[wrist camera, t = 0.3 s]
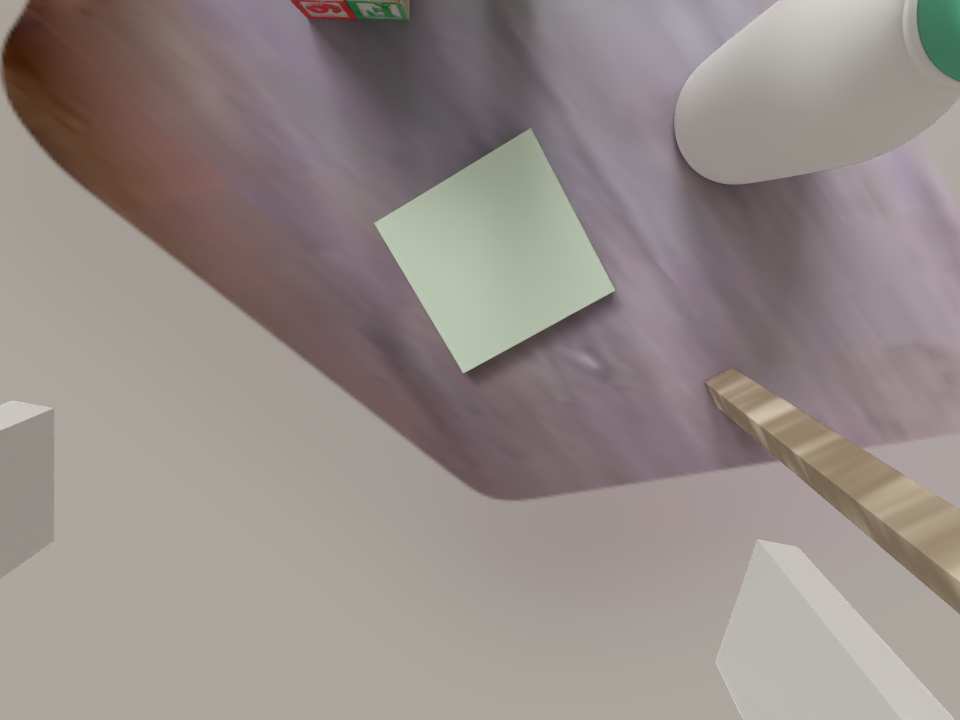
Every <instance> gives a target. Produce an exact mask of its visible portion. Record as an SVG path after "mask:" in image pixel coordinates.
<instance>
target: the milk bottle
mask: <svg viewBox="0 0 960 720" xmlns="http://www.w3.org/2000/svg"><path fill="white" fill-rule="evenodd" d="M959 97H960V0H779V1H777V2H776V3H775V4H773V5H772V6H771V7H770V8H768V9H767V10H766V11H765V12H763V13H762V14H761V15H759V16H758V17H757V18H756V19H754V20H753V21H752V22H750V23H749V24H748V25H747V26H745V27H744V28H743V29H742V30H741V31H739V32H738V33H737V34H736V35H734V36H733V37H732V38H731V39H729V40H728V41H727V42H726V43H724V44H723V45H722V46H721V47H720V48H718V49H717V50H716V51H715V52H713V53H712V54H711V55H710V56H709V57H708V58H706V59H705V60H704V61H703V62H702V63H701V64H700V65H699V66H698V67H697V68H696V69H695V70H694V71H693V73H692V74H691V75H690V76H689V78H688V79H687V81H686V82H685V84H684V86H683V88H682V90H681V92H680V95H679V97H678V100H677V104H676V108H675V116H674V129H675V136H676V140H677V144H678V146H679V149H680V151H681V153H682V155H683V157H684V158H685V160H686V161H687V163H688V164H689V165H690V166H691V167H692V168H693V169H694V170H695V171H696V172H697V173H699V174H700V175H702V176H703V177H705V178H707V179H709V180H712V181H714V182H718V183H722V184H730V185H736V184H748V183H755V182H761V181H768V180H774V179H780V178H786V177H792V176H797V175H803V174H808V173H814V172H819V171H825V170H830V169H834V168H839V167H843V166H847V165H851V164H855V163H859V162H863V161H866V160H869V159H872V158H874V157H877V156H879V155H882V154H884V153H887V152H889V151H891V150H893V149H895V148H897V147H899V146H901V145H902V144H904V143H906V142H908V141H910V140H911V139H913V138H914V137H916V136H917V135H919V134H920V133H921V132H923V131H924V130H925V129H927V128H928V127H929V126H931V125H932V124H933V123H935V122H936V121H937V120H938V119H939V118H940V117H941V116H942V115H943V114H944V113H945V112H946V111H947V110H948V109H949V108H950V107H951V106H952V105H953V104H954V103H955V102H956V101H957V99H958V98H959Z"/></svg>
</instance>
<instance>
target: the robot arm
mask: <svg viewBox="0 0 960 720" xmlns="http://www.w3.org/2000/svg"><path fill="white" fill-rule="evenodd" d="M53 541H54V408H50V407H45V406H39V405H34V404H29V403H23V402H17V401H10V402H7V403H4V404H2V405H0V578H2V577H3V576H5V575H6V574H7V573H9V572H10V571H12V570H13V569H14V568H16V567H17V566H19V565H20V564H21V563H23V562H24V561H26V560H27V559H28V558H30V557H31V556H33V555H34V554H36V553H37V552H38V551H40V550H41V549H43V548H44V547H46V546H47V545H48V544H50V543H51V542H53ZM715 663H716V665H717V667H718V669H719V671H720V673H721V676H722V678H723V680H724V682H725V684H726V686H727V688H728V690H729V692H730V694H731V696H732V698H733V700H734V703H735V705H736V707H737V709H738V711H739V713H740V715H741V717H742V719H743V720H955V719H954V718H953V717H952V716H951V715H950V714H949V713H948V711H947V710H946V709H945V708H944V707H943V706H942V705H941V704H940V703H939V702H938V701H937V699H936V698H935V697H934V696H933V695H932V694H931V693H930V692H929V691H928V689H927V688H926V687H925V686H924V685H923V684H922V683H921V682H920V681H919V680H918V678H917V677H916V676H915V675H914V674H913V673H912V672H911V671H910V670H909V669H908V667H907V666H906V665H905V664H904V663H903V662H902V661H901V660H900V659H899V658H898V656H897V655H896V654H895V653H894V652H893V651H892V650H891V649H890V648H889V647H888V646H887V645H886V643H885V642H884V641H883V640H882V639H881V638H880V637H879V636H878V634H877V633H876V632H875V631H874V630H873V629H872V628H871V627H870V626H869V625H868V624H867V622H866V621H865V620H864V619H863V618H862V617H861V616H860V615H859V614H858V612H857V611H856V610H855V609H854V608H853V607H852V606H851V605H850V604H849V603H848V602H847V600H846V599H845V598H844V597H843V596H842V595H841V594H840V593H839V592H838V591H837V589H836V588H835V587H834V586H833V585H832V584H831V583H830V582H829V581H828V580H827V579H826V577H825V576H824V575H823V574H822V573H821V572H820V571H819V570H818V568H817V567H816V566H815V565H814V564H813V563H812V562H811V561H810V560H809V559H808V557H807V556H806V555H804V553H803V552H802V551H801V550H800V549H799V548H798V547H796V546H791V545H785V544H780V543H774V542H769V541H764V540H758V539H757V541H756V544H755V547H754V550H753V553H752V556H751V559H750V562H749V565H748V568H747V571H746V574H745V577H744V580H743V583H742V586H741V588H740V591H739V594H738V598H737V600H736V603H735V606H734V609H733V612H732V615H731V618H730V621H729V624H728V627H727V630H726V633H725V636H724V638H723V641H722V645H721V647H720V650H719V653H718V656H717V659H716V662H715Z"/></svg>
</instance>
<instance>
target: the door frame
mask: <svg viewBox="0 0 960 720" xmlns="http://www.w3.org/2000/svg"><path fill="white" fill-rule="evenodd" d="M705 384H706V386H707V388H708V390H709V392H710V394H711V396H712V398H713V400H714V402H715V404H716V406H717V407H718V408H719V409H720V410H721V411H722V412H723V413H725V414H726V415H727V416H728V417H729V418H730V419H732V420H733V421H734V422H735V423H736V424H737V425H739V426H740V427H741V428H742V429H743V430H745V431H746V432H747V433H748V434H749V435H750V436H752V437H753V438H754V439H755V440H756V441H757V442H759V443H760V444H761V445H762V446H763V447H764V448H766V449H767V450H768V451H769V452H770V453H771V454H773V455H774V456H775V457H776V458H777V459H779V460H780V461H781V462H782V463H783V464H784V465H786V466H787V467H788V468H789V469H790V470H791V471H793V472H794V473H795V474H796V475H797V476H798V477H800V478H801V479H802V480H803V481H804V482H805V483H807V484H808V485H809V486H810V487H811V488H813V489H814V490H815V491H816V492H817V493H818V494H820V495H821V496H822V497H823V498H824V499H825V500H827V501H828V502H829V503H830V504H831V505H832V506H834V507H835V508H836V509H837V510H838V511H839V512H841V513H842V514H843V515H844V516H845V517H846V518H848V519H849V520H850V521H851V522H852V523H854V524H855V525H856V526H857V527H858V528H859V529H861V530H862V531H863V532H864V533H865V534H866V535H868V536H869V537H870V538H871V539H872V540H874V541H875V542H876V543H877V544H878V545H879V546H880V547H882V548H883V549H884V550H885V551H886V552H888V553H889V554H890V555H891V556H892V557H893V558H895V559H896V560H897V561H898V562H899V563H900V564H902V565H903V566H904V567H905V568H906V569H907V570H909V571H910V572H911V573H912V574H913V575H915V576H916V577H917V578H918V579H919V580H920V581H922V582H923V583H924V584H925V585H926V586H928V587H929V588H930V589H931V590H932V591H933V592H934V593H936V594H937V595H938V596H939V597H940V598H941V599H943V600H944V601H945V602H946V603H947V604H948V605H950V606H951V607H952V608H953V609H955V610H956V611H957V612H958V613H959V614H960V510H959V509H958V508H956V507H955V506H953V505H951V504H950V503H948V502H947V501H945V500H943V499H942V498H940V497H939V496H937V495H935V494H934V493H932V492H931V491H929V490H927V489H926V488H924V487H923V486H921V485H919V484H918V483H916V482H915V481H913V480H911V479H910V478H908V477H907V476H905V475H903V474H902V473H900V472H898V471H897V470H895V469H894V468H892V467H891V466H889V465H887V464H886V463H884V462H883V461H881V460H879V459H878V458H876V457H875V456H873V455H871V454H870V453H868V452H866V451H865V450H863V449H862V448H860V447H859V446H857V445H855V444H854V443H852V442H851V441H849V440H847V439H846V438H844V437H843V436H841V435H839V434H838V433H836V432H835V431H833V430H831V429H830V428H828V427H827V426H825V425H823V424H822V423H820V422H819V421H817V420H815V419H814V418H812V417H811V416H809V415H807V414H806V413H804V412H803V411H801V410H799V409H798V408H796V407H795V406H793V405H791V404H790V403H788V402H787V401H785V400H783V399H782V398H780V397H779V396H777V395H775V394H774V393H772V392H771V391H769V390H767V389H766V388H764V387H763V386H761V385H759V384H758V383H756V382H755V381H753V380H751V379H750V378H748V377H747V376H745V375H743V374H742V373H740V372H739V371H737V370H735V369H734V368H731V369H729V370H727V371H726V372H724V373H722V374H720V375H718V376H716V377H714V378H712V379H710V380H708V381H706V382H705Z"/></svg>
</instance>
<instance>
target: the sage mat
mask: <svg viewBox="0 0 960 720" xmlns="http://www.w3.org/2000/svg"><path fill="white" fill-rule="evenodd" d="M374 224H375V226H376V227H377V229H378V231H379V232H380V234H381V236H382V237H383V239H384V241H385V243H386V244H387V246H388V248H389V249H390V251H391V253H392V254H393V256H394V258H395V259H396V261H397V263H398V264H399V266H400V268H401V269H402V271H403V273H404V274H405V276H406V278H407V279H408V281H409V283H410V285H411V286H412V288H413V290H414V291H415V293H416V295H417V296H418V298H419V300H420V301H421V303H422V305H423V306H424V308H425V310H426V311H427V313H428V315H429V316H430V318H431V320H432V322H433V323H434V325H435V327H436V328H437V330H438V332H439V333H440V335H441V337H442V338H443V340H444V342H445V343H446V345H447V347H448V348H449V350H450V352H451V353H452V355H453V357H454V359H455V360H456V362H457V364H458V365H459V367H460V369H461V370H462V372H463V373H465V372H467V371H469V370H471V369H473V368H474V367H476V366H478V365H480V364H482V363H483V362H485V361H487V360H489V359H491V358H493V357H494V356H496V355H498V354H500V353H502V352H504V351H505V350H507V349H509V348H511V347H513V346H515V345H516V344H518V343H520V342H522V341H524V340H526V339H527V338H529V337H531V336H533V335H535V334H537V333H538V332H540V331H542V330H544V329H546V328H547V327H549V326H551V325H553V324H555V323H557V322H558V321H560V320H562V319H564V318H566V317H568V316H569V315H571V314H573V313H575V312H577V311H579V310H580V309H582V308H584V307H586V306H588V305H590V304H591V303H593V302H595V301H597V300H599V299H600V298H602V297H604V296H606V295H608V294H610V293H611V292H613V291H615V289H614V287H613V285H612V283H611V281H610V279H609V277H608V275H607V274H606V272H605V270H604V268H603V266H602V264H601V262H600V260H599V258H598V256H597V254H596V252H595V250H594V249H593V247H592V245H591V243H590V241H589V239H588V237H587V235H586V233H585V231H584V229H583V227H582V225H581V224H580V222H579V220H578V218H577V216H576V214H575V212H574V210H573V208H572V206H571V204H570V202H569V200H568V199H567V197H566V195H565V193H564V191H563V189H562V187H561V185H560V183H559V181H558V179H557V177H556V175H555V174H554V172H553V170H552V168H551V166H550V164H549V162H548V160H547V158H546V156H545V154H544V152H543V150H542V149H541V147H540V145H539V143H538V141H537V139H536V137H535V135H534V133H533V131H532V129H531V128H530V129H528V130H526V131H525V132H523V133H521V134H520V135H518V136H517V137H515V138H513V139H512V140H510V141H508V142H507V143H505V144H503V145H502V146H500V147H499V148H497V149H495V150H494V151H492V152H490V153H489V154H487V155H485V156H484V157H482V158H480V159H479V160H477V161H476V162H474V163H472V164H471V165H469V166H467V167H466V168H464V169H462V170H461V171H459V172H457V173H456V174H454V175H453V176H451V177H449V178H448V179H446V180H444V181H443V182H441V183H439V184H438V185H436V186H434V187H433V188H431V189H430V190H428V191H426V192H425V193H423V194H421V195H420V196H418V197H416V198H415V199H413V200H412V201H410V202H408V203H407V204H405V205H403V206H402V207H400V208H398V209H397V210H395V211H393V212H392V213H390V214H389V215H387V216H385V217H384V218H382V219H380V220H379V221H377V222H375V223H374Z"/></svg>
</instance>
